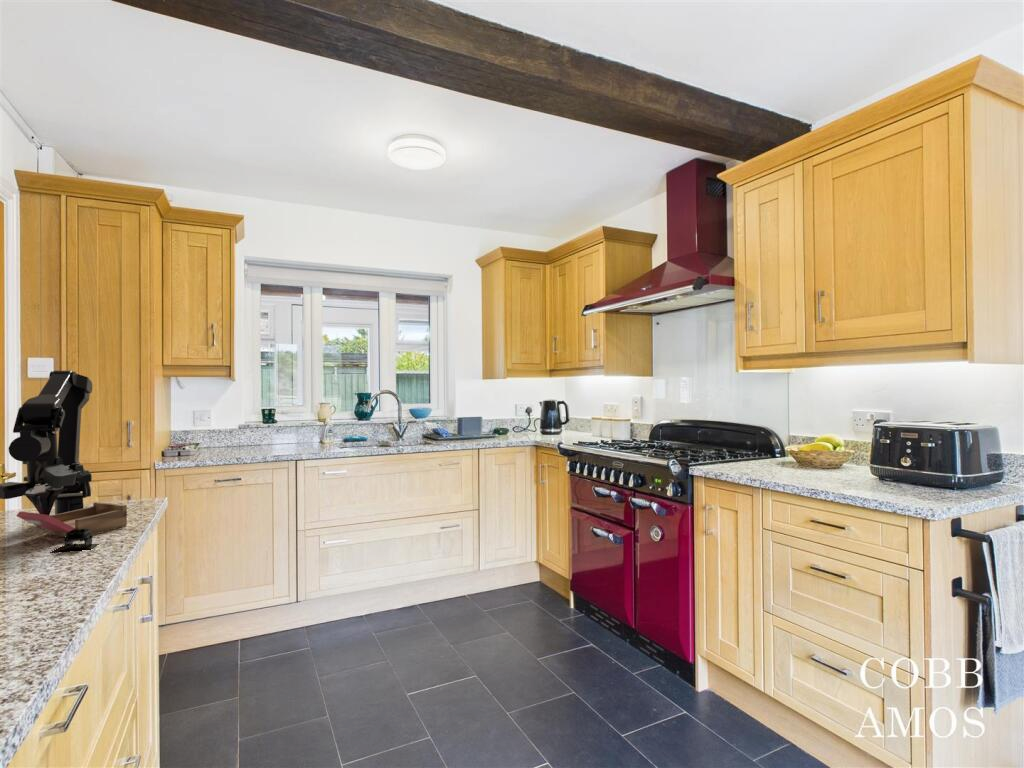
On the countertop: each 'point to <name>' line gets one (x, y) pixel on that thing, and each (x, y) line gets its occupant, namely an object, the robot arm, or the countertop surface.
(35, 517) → the panel
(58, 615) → the countertop surface
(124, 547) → the countertop surface
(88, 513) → the brown wooden drawer
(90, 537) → the black boxy piece
